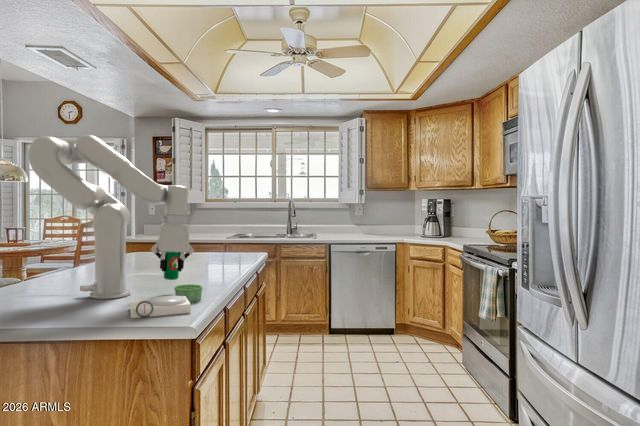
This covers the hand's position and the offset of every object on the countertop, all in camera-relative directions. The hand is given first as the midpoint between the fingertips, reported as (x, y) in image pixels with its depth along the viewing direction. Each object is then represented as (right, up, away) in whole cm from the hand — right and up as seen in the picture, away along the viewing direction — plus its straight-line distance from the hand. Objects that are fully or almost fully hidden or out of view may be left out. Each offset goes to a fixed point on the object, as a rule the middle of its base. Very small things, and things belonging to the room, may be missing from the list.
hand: (171, 270), depth 148 cm
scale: (+5, -9, -24) cm, 26 cm away
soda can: (0, -3, 0) cm, 3 cm away
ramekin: (+9, -9, -9) cm, 16 cm away
